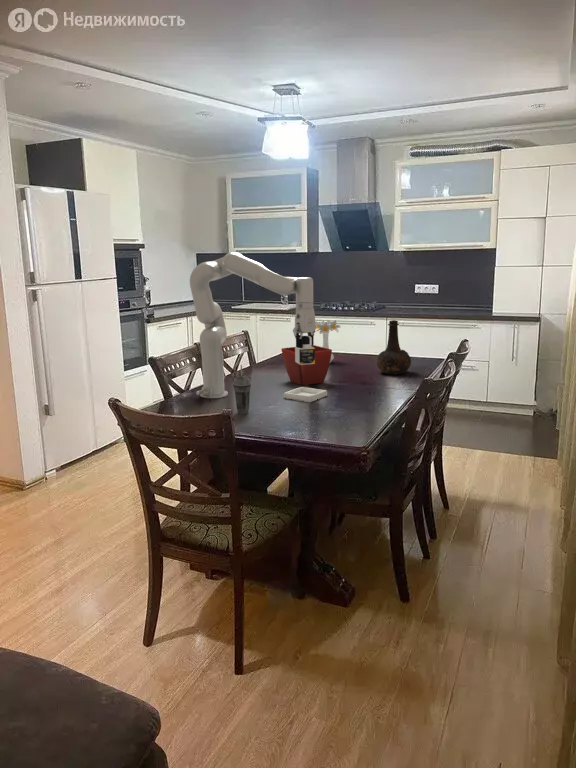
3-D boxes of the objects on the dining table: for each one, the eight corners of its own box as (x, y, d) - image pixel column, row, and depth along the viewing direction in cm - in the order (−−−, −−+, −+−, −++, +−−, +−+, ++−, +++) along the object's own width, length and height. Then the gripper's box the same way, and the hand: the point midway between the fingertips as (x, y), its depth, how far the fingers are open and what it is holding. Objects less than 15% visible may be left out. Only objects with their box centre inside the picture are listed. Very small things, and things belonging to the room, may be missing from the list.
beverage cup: (252, 409, 241) (250, 362, 237) (251, 414, 234) (250, 366, 230) (234, 410, 241) (232, 362, 236) (233, 415, 234) (231, 366, 229)
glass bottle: (417, 374, 304) (418, 321, 298) (387, 378, 297) (388, 323, 291) (398, 368, 320) (400, 318, 314) (370, 371, 314) (370, 319, 307)
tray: (309, 402, 251) (309, 396, 251) (283, 398, 260) (283, 392, 259) (326, 395, 262) (326, 390, 262) (301, 392, 271) (301, 386, 270)
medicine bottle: (299, 364, 253) (299, 337, 251) (295, 362, 260) (294, 335, 257) (315, 363, 255) (315, 336, 252) (310, 361, 262) (310, 334, 259)
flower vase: (309, 360, 348) (309, 318, 342) (340, 360, 346) (340, 318, 340) (308, 364, 335) (307, 321, 330) (340, 364, 333) (340, 321, 328)
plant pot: (281, 380, 295) (280, 347, 292) (313, 376, 304) (313, 344, 300) (299, 388, 279) (298, 353, 275) (333, 383, 287) (333, 349, 283)
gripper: (300, 308, 243) (300, 349, 247) (322, 305, 257) (322, 344, 261) (285, 307, 247) (286, 348, 251) (308, 304, 261) (308, 343, 265)
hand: (304, 346), depth 256 cm, fingers closed on medicine bottle, 7 cm apart
